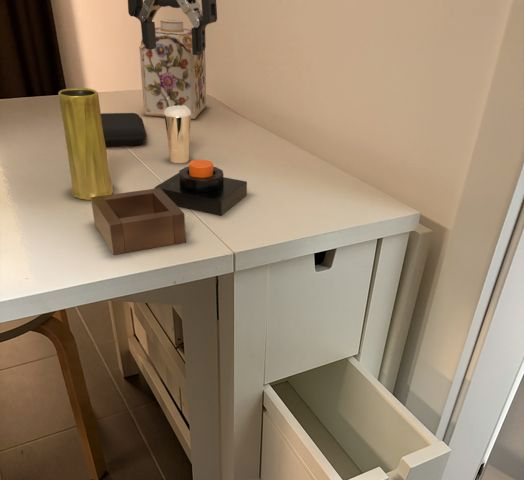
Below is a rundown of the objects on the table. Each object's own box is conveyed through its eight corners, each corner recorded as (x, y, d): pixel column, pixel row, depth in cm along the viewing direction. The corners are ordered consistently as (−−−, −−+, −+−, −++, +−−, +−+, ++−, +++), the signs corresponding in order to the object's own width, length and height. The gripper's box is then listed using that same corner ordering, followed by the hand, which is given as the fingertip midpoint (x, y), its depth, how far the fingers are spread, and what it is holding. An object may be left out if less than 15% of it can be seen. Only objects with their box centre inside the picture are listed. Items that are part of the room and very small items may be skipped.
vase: (96, 203, 81) (81, 99, 73) (63, 195, 83) (44, 93, 75) (121, 190, 86) (110, 90, 77) (89, 183, 88) (75, 85, 79)
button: (184, 176, 82) (184, 164, 80) (196, 169, 84) (196, 157, 83) (206, 180, 80) (206, 168, 79) (217, 173, 83) (217, 161, 82)
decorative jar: (143, 116, 121) (135, 20, 110) (158, 103, 130) (152, 14, 119) (196, 120, 120) (194, 24, 109) (207, 107, 129) (206, 18, 118)
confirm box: (155, 201, 83) (153, 175, 80) (184, 182, 89) (183, 158, 87) (221, 215, 80) (221, 188, 77) (246, 195, 86) (247, 169, 84)
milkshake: (182, 153, 101) (179, 95, 95) (197, 162, 98) (195, 101, 92) (160, 157, 99) (156, 97, 93) (174, 166, 96) (171, 104, 90)
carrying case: (89, 127, 112) (89, 149, 101) (87, 111, 110) (86, 132, 99) (142, 126, 115) (148, 147, 103) (141, 110, 113) (146, 130, 101)
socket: (113, 255, 68) (109, 225, 66) (94, 225, 75) (90, 197, 73) (185, 242, 72) (184, 213, 70) (161, 215, 79) (159, 187, 76)
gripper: (109, -80, 77) (122, 50, 87) (199, -77, 73) (202, 60, 83) (138, -78, 83) (148, 44, 93) (224, -75, 79) (224, 53, 88)
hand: (174, 51), depth 88 cm, fingers open, 8 cm apart
